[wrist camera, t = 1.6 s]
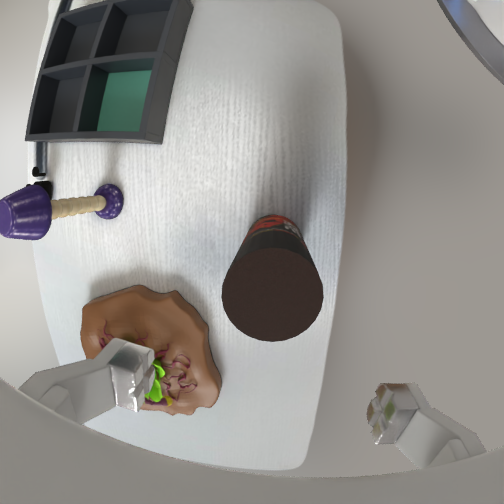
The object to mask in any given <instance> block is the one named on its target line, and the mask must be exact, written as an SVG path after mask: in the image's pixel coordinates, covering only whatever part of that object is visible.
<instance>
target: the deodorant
mask: <svg viewBox="0 0 504 504" xmlns="http://www.w3.org/2000/svg"><path fill="white" fill-rule="evenodd" d="M221 298H222V302H223V307H224V310H225V312H226V314H227V316H228V318H229V320H230V321H231V322H232V323H233V324H234V326H235V327H236V328H237V329H238V330H240V331H241V332H243V333H244V334H246V335H247V336H249V337H252V338H255V339H258V340H262V341H270V342H275V341H284V340H287V339H290V338H293V337H296V336H298V335H299V334H301V333H302V332H304V331H305V330H307V329H308V328H309V327H310V325H311V324H312V323H313V322H314V321H315V320H316V318H317V316H318V314H319V312H320V310H321V307H322V302H323V285H322V282H321V279H320V277H319V274H318V272H317V269H316V267H315V265H314V262H313V260H312V258H311V255H310V253H309V251H308V249H307V246H306V244H305V242H304V240H303V237H302V235H301V233H300V231H299V229H298V227H297V226H296V225H295V223H294V222H292V221H291V220H290V219H288V218H286V217H284V216H281V215H268V216H265V217H262V218H260V219H259V220H257V221H256V222H255V223H254V224H253V225H252V227H251V228H250V229H249V231H248V233H247V235H246V237H245V239H244V241H243V243H242V245H241V247H240V249H239V251H238V253H237V254H236V256H235V258H234V260H233V262H232V264H231V266H230V268H229V270H228V272H227V274H226V277H225V279H224V282H223V285H222V297H221Z"/></svg>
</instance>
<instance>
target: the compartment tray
mask: <svg viewBox="0 0 504 504" xmlns="http://www.w3.org/2000/svg"><path fill="white" fill-rule="evenodd" d="M192 11H193V5H192V3H191V1H190V0H106V1H102V2H98V3H94V4H91V5H87V6H84V7H80V8H77V9H74V10H71V11H68V12H65V13H62V14H59V17H58V19H57V21H56V24H55V26H54V29H53V32H52V34H51V37H50V40H49V43H48V45H47V48H46V51H45V54H44V57H43V61H42V64H41V67H40V71H39V74H38V78H37V82H36V86H35V90H34V94H33V98H32V103H31V107H30V113H29V118H28V124H27V130H26V136H25V141H33V142H130V143H149V144H162V140H163V134H164V128H165V123H166V117H167V112H168V107H169V102H170V97H171V92H172V87H173V83H174V78H175V74H176V70H177V65H178V61H179V57H180V53H181V49H182V46H183V42H184V38H185V34H186V31H187V27H188V24H189V21H190V17H191V14H192Z"/></svg>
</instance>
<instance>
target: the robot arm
mask: <svg viewBox="0 0 504 504" xmlns="http://www.w3.org/2000/svg"><path fill="white" fill-rule="evenodd" d="M467 1H468V2H469V3H470V4H471V5H472V6H473V8H474V9H475V10H476V12H477V13H478V15H479V16H480V18H481V19H482V21H483V22H484V23H485V25H486V26H487V27H488V29H489V30H490V31H491V32H492V34H493V35H494V36H495V37H496V38H497V39H498V40H499V41H500V42H501V43H502V44H503V45H504V0H467ZM154 359H155V356H154V350H153V349H151V348H148V347H144V346H141V345H138V344H135V343H132V342H127V341H125V340H122V339H119V338H113V339H112V340H111V341H110V342H109V343H108V344H107V345H106V346H105V347H104V349H103V350H102V351H101V352H100V353H99V354H98V355H97V356H96V357H95V358H94V359H90V358H89V359H86V360H82V361H78V362H75V363H71V364H67V365H63V366H59V367H56V368H52V369H48V370H43V371H40V372H36V373H35V374H33V375H32V376H31V377H30V378H29V379H28V380H27V381H26V382H25V383H24V384H23V385H22V386H21V387H20V388H19V389H16V388H15V387H13V386H11V385H10V384H9V383H7V382H5V381H4V380H3V379H1V378H0V504H504V446H502V447H499V448H496V449H494V450H491V451H488V452H487V451H486V450H485V448H484V446H483V444H482V443H481V441H480V440H479V438H478V436H477V435H476V433H474V432H472V431H471V430H469V429H467V428H466V427H464V426H463V425H461V424H459V423H458V422H456V421H454V420H453V419H451V418H450V417H448V416H446V415H445V414H443V413H441V412H440V411H438V410H437V409H435V408H431V407H430V405H429V403H428V401H427V400H426V398H425V396H424V395H423V393H422V391H421V390H420V388H419V387H418V385H417V384H416V383H403V384H389V383H388V384H387V383H381V384H380V385H379V386H378V388H377V390H376V391H375V392H376V395H377V396H376V397H375V398H374V399H373V400H371V402H370V404H369V406H368V409H367V420H368V424H370V425H371V426H372V427H373V430H372V431H371V433H372V436H373V439H374V442H375V444H394V445H395V446H397V448H398V449H400V451H402V453H404V454H405V455H406V456H407V457H408V458H409V459H410V460H411V461H412V462H413V463H414V464H415V465H416V466H417V467H418V468H419V469H418V470H412V471H406V472H399V473H392V474H383V475H373V476H361V477H339V478H308V477H286V476H273V475H263V474H255V473H246V472H240V471H233V470H227V469H221V468H216V467H211V466H206V465H201V464H197V463H192V462H188V461H184V460H180V459H176V458H173V457H169V456H165V455H162V454H159V453H155V452H152V451H149V450H146V449H143V448H140V447H137V446H134V445H131V444H128V443H125V442H123V441H120V440H117V439H115V438H112V437H110V436H107V435H105V434H102V433H100V432H97V431H95V430H93V429H91V428H88V427H86V426H84V425H82V423H85V422H87V421H89V420H91V419H93V418H95V417H97V416H98V415H100V414H102V413H104V412H106V411H108V410H110V409H112V408H114V407H116V405H117V406H120V407H123V408H126V409H130V410H133V411H136V412H139V410H140V408H141V406H142V404H143V403H144V401H145V395H144V394H147V393H149V392H150V390H151V388H152V386H153V382H154V378H155V368H154V367H153V365H152V362H153V361H154Z"/></svg>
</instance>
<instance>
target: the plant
mask: <svg viewBox="0 0 504 504" xmlns="http://www.w3.org/2000/svg"><path fill="white" fill-rule="evenodd" d="M208 331H209V330H208V325H207V324H206V323H205V322H204V321H203V320H202V319H201V317H200V315H199V313H198V312H197V311H196V309H195V308H194V307H193V306H192V305H190V304H189V303H187V302H186V301H185V300H184V299H183V298H182V297H181V296H180V294H179V293H178V292H177V291H172V292H169V293H166V294H160V293H156V292H153V291H151V290H149V289H147V288H146V287H144V286H142V285H137V286H132V287H130V288H127V289H124V290H120V291H117V292H114V293H112V294H109V295H106V296H101V297H98V298H96V299H93V300H91V301H90V302H89V303H87V304H86V305H85V306H84V307H83V309H82V327H81V332H80V335H81V343H82V347H83V350H84V352H85V355H86V359H89V358H90V359H94V358H95V357H96V356H97V355H98V354H99V353H100V352H101V351H102V350H103V349H104V347H105V346H106V345H107V344H108V343H109V342H110V341H111V340H112V339H113V338H119V339H122V340H125V341H127V342H132V343H135V344H138V345H141V346H144V347H148V348H151V349H153V350H154V356H155V359H154V361H153V362H152V365H153V367H154V368H155V378H154V382H153V386H152V388H151V390H150V392H149V393H147V394H144V395H145V401H144V403H143V404H142V406H141V408H140V409H142V410H152V411H156V410H159V411H164V412H166V413H169V414H171V415H175V414H177V413H181V414H186V415H192V414H193V413H194V412H195V409H196V408H197V407H207V408H210V407H212V406H213V405H214V404H215V403H216V401H217V399H218V397H219V394H220V390H221V384H222V383H221V377H220V375H219V372H218V370H217V368H216V366H215V364H214V362H213V360H212V356H211V352H210V348H209V343H208Z"/></svg>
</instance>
